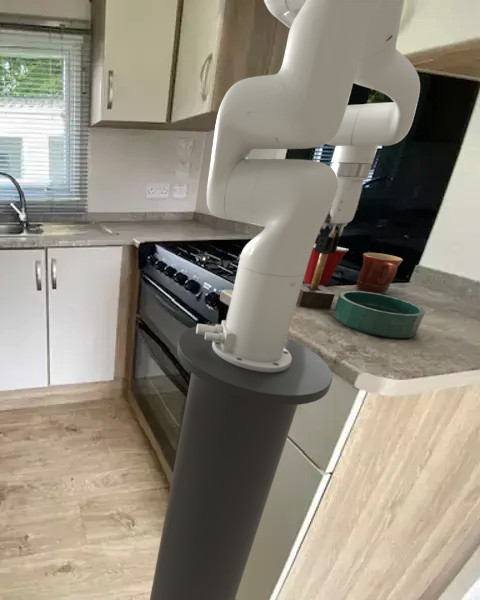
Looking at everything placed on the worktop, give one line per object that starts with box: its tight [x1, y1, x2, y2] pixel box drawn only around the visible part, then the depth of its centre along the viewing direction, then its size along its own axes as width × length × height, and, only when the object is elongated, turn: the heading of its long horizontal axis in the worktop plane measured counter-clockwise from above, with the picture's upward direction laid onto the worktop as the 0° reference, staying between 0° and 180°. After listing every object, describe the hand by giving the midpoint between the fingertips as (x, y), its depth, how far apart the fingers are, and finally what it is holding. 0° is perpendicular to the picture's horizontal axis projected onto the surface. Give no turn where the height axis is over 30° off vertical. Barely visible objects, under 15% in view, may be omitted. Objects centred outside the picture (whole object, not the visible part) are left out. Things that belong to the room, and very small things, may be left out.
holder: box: [296, 283, 336, 310], centre depth 90 cm, size 7×7×4 cm
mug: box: [355, 252, 404, 295], centre depth 99 cm, size 12×9×10 cm
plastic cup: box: [303, 243, 349, 288], centre depth 105 cm, size 11×11×12 cm
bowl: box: [333, 290, 426, 339], centre depth 78 cm, size 15×15×6 cm
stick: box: [310, 230, 337, 290], centre depth 87 cm, size 2×2×18 cm
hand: (324, 251), depth 86 cm, fingers closed on stick, 2 cm apart
